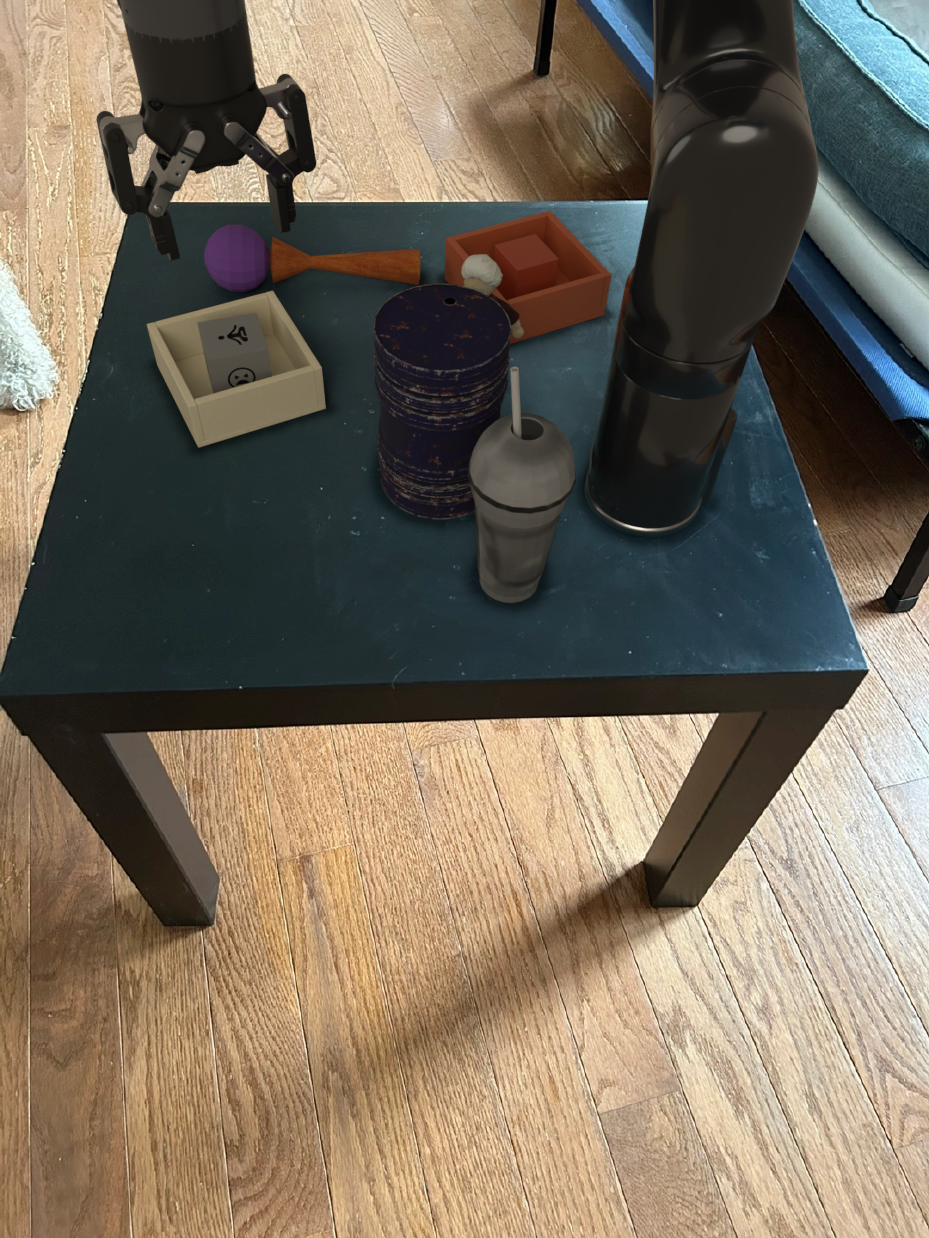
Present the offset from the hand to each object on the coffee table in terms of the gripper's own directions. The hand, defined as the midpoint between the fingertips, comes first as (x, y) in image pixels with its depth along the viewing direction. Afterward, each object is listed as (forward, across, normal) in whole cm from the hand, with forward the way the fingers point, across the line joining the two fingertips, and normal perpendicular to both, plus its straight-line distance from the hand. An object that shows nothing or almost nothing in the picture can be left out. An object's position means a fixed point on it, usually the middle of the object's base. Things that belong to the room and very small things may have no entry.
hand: (228, 240), depth 75 cm
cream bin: (+15, -1, +2) cm, 15 cm away
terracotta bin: (+15, +28, +3) cm, 32 cm away
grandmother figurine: (+16, +18, -6) cm, 25 cm away
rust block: (+15, +28, +3) cm, 32 cm away
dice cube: (+15, -1, +2) cm, 15 cm away
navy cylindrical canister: (+15, +10, -15) cm, 24 cm away
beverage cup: (+16, +10, -27) cm, 33 cm away
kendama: (+15, +10, +13) cm, 22 cm away
